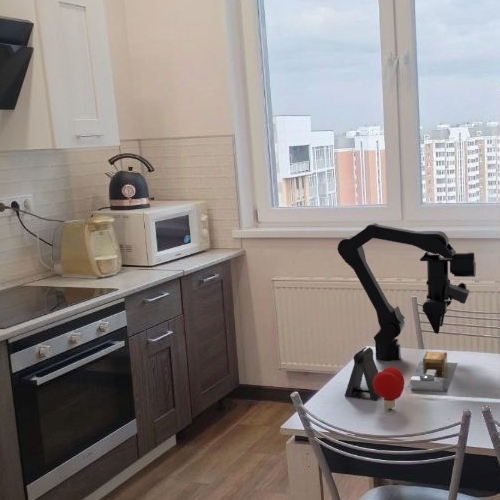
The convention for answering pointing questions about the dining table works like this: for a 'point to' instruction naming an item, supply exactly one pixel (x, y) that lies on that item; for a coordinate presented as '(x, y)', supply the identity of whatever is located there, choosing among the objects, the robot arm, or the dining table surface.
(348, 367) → the dining table surface
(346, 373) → the dining table surface
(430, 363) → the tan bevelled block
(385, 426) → the dining table surface
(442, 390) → the grey stepped plate
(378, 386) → the table tennis paddles
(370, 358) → the dark grey a-frame stand
